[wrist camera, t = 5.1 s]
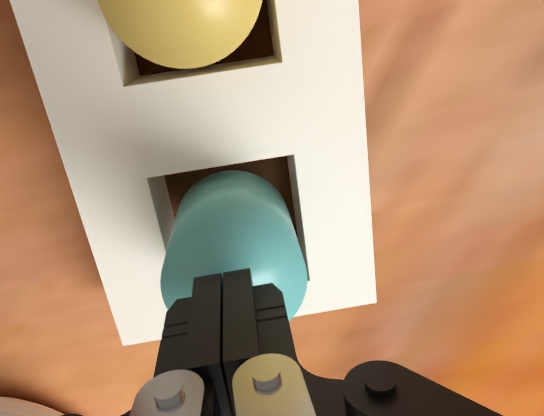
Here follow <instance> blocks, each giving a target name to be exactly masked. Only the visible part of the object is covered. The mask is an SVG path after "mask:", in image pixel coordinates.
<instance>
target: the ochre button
mask: <svg viewBox="0 0 544 416" xmlns="http://www.w3.org/2000/svg"><path fill="white" fill-rule="evenodd" d="M97 1H98V4H99V6H100V8H101V11H102V13H103V15H104V17H105V19H106V20H107V22H108V24H109V25H110V27H111V28H112V30H113V31H114V32H115V33H116V35H117V36H118V37H119V38H120V39H121V40H122V41H123V42H124V43H125V44H126V45H127V46H128V47H129V48H130V49H132V50H133V51H134V52H135V53H137V54H139V55H140V56H142V57H143V58H145V59H147V60H149V61H152V62H154V63H156V64H159V65H162V66H166V67H171V68H179V69H190V68H199V67H203V66H207V65H210V64H213V63H215V62H217V61H219V60H221V59H223V58H225V57H226V56H228V55H229V54H230V53H232V52H233V51H234V50H235V49H236V48H237V47H238V46H240V45H241V44H242V42H243V41H244V40H245V39H246V37H247V36H248V35H249V33H250V31H251V30H252V28H253V26H254V24H255V22H256V20H257V17H258V15H259V11H260V8H261V5H262V0H97Z"/></svg>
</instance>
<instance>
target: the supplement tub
mask: <svg viewBox="0 0 544 416" xmlns="http://www.w3.org/2000/svg"><path fill="white" fill-rule="evenodd" d="M61 415H65V414H63V413H61V412H58V411H56V410H54V409H52V408H49V407H46V406H44V405H40V404H37V403H34V402H30V401H26V400H21V399H16V398H10V397H0V416H61Z"/></svg>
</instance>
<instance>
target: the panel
mask: <svg viewBox="0 0 544 416" xmlns="http://www.w3.org/2000/svg"><path fill="white" fill-rule="evenodd" d="M10 3H11V6H12V9H13V12H14V15H15V18H16V21H17V24H18V27H19V30H20V33H21V36H22V39H23V43H24V46H25V49H26V52H27V55H28V58H29V61H30V64H31V67H32V70H33V73H34V76H35V79H36V82H37V85H38V88H39V91H40V94H41V97H42V100H43V103H44V107H45V110H46V113H47V116H48V119H49V122H50V125H51V128H52V131H53V134H54V137H55V140H56V143H57V146H58V149H59V152H60V155H61V158H62V161H63V164H64V167H65V171H66V174H67V177H68V180H69V183H70V186H71V189H72V192H73V195H74V198H75V201H76V204H77V207H78V210H79V213H80V216H81V219H82V222H83V225H84V228H85V231H86V235H87V238H88V241H89V244H90V247H91V250H92V253H93V256H94V259H95V262H96V265H97V268H98V271H99V274H100V277H101V280H102V283H103V286H104V289H105V292H106V295H107V299H108V302H109V305H110V308H111V311H112V314H113V317H114V320H115V323H116V326H117V329H118V332H119V335H120V338H121V341H122V344H123V346H126V345H132V344H138V343H144V342H149V341H155V340H161V339H162V332H163V328H164V322H165V317H166V312H167V311H168V309H167V308H166V306H165V303H164V301H163V298H162V294H161V288H160V278H161V270H162V267H163V263H164V259H165V255H166V251H167V248H168V244H169V240H170V236H171V232H172V229H173V225H174V221H175V218H174V214H173V210H172V206H171V202H170V198H169V193H168V189H167V185H166V181H165V177H164V175H169V174H175V173H181V172H187V171H194V170H200V169H206V168H212V167H219V166H225V165H231V164H237V163H244V162H250V161H256V160H262V159H268V158H275V157H281V156H287V160H288V168H289V175H290V183H291V191H292V198H293V206H294V213H295V221H296V229H297V236H298V243H299V246H300V249H301V252H302V255H303V258H304V262H305V265H306V270H307V289H306V293H305V297H304V299H303V302H302V304H301V306H300V308H299V310H298V311H297V313H296V314H295V315H294V317H296V316H302V315H307V314H313V313H319V312H325V311H331V310H337V309H343V308H348V307H354V306H360V305H366V304H372V303H377V301H376V285H375V268H374V252H373V236H372V219H371V203H370V186H369V170H368V154H367V137H366V121H365V104H364V88H363V72H362V55H361V39H360V22H359V6H358V0H267V8H268V15H269V23H270V30H271V38H272V46H273V53H274V56H267V57H261V58H254V59H248V60H241V61H235V62H228V63H222V64H215V65H209V66H203V67H199V68H190V69H183V70H176V71H170V72H163V73H157V74H150V75H144V76H140V74H139V70H138V65H137V61H136V57H135V53H134V51H133V50H132V49H130V48H129V47H128V46H127V45H126V44H125V43H124V42H123V41H122V40H121V39H120V38H119V37H118V36H117V35H116V33H115V32H114V31H113V30H112V28H111V27H110V25H109V24H108V22H107V20H106V19H105V17H104V15H103V13H102V11H101V8H100V6H99V4H98V1H97V0H10Z"/></svg>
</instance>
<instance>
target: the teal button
mask: <svg viewBox="0 0 544 416" xmlns="http://www.w3.org/2000/svg"><path fill="white" fill-rule="evenodd" d="M246 268H250V270H251V275H252V281H253V286H257V285H262V284H268V283H273V284H274V285H275V286H276V287H277V288H278V289H279V290H281V291H282V293H283V297H284V302H285V307H286V311H287V316H288V320H289V321H290V320H291V319H292V318H293V317H294V315H295V314H296V313H297V311H298V310H299V308H300V306H301V304H302V302H303V299H304V297H305V293H306V289H307V270H306V265H305V262H304V258H303V255H302V252H301V249H300V246H299V243H298V240H297V236H296V233H295V230H294V227H293V224H292V221H291V218H290V214H289V211H288V208H287V206H286V203H285V201H284V199H283V197H282V195H281V194H280V193H279V191H278V190H277V189H276V188H275V187H274V186H273V185H272V184H271V183H269V182H268V181H267V180H265V179H263V178H262V177H260V176H258V175H255V174H252V173H249V172H245V171H237V170H229V171H221V172H217V173H214V174H211V175H208V176H206V177H204V178H202V179H201V180H199V181H198V182H196V183H195V184H194V185H193V186H192V187H191V188H190V189H189V190H188V191H187V192H186V193H185V195H184V196H183V198H182V200H181V202H180V204H179V206H178V210H177V213H176V217H175V221H174V225H173V229H172V232H171V236H170V240H169V244H168V248H167V251H166V255H165V259H164V263H163V267H162V270H161V278H160V288H161V294H162V298H163V301H164V303H165V306H166V308H167V309H169V308H170V307H171V306H172V304H173V303H174V302H175V301H176V299H181V298H187V297H192V289H193V280H194V277H199V276H205V275H211V274H217V273H222V276H223V272H228V271H234V270H240V269H246Z"/></svg>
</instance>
